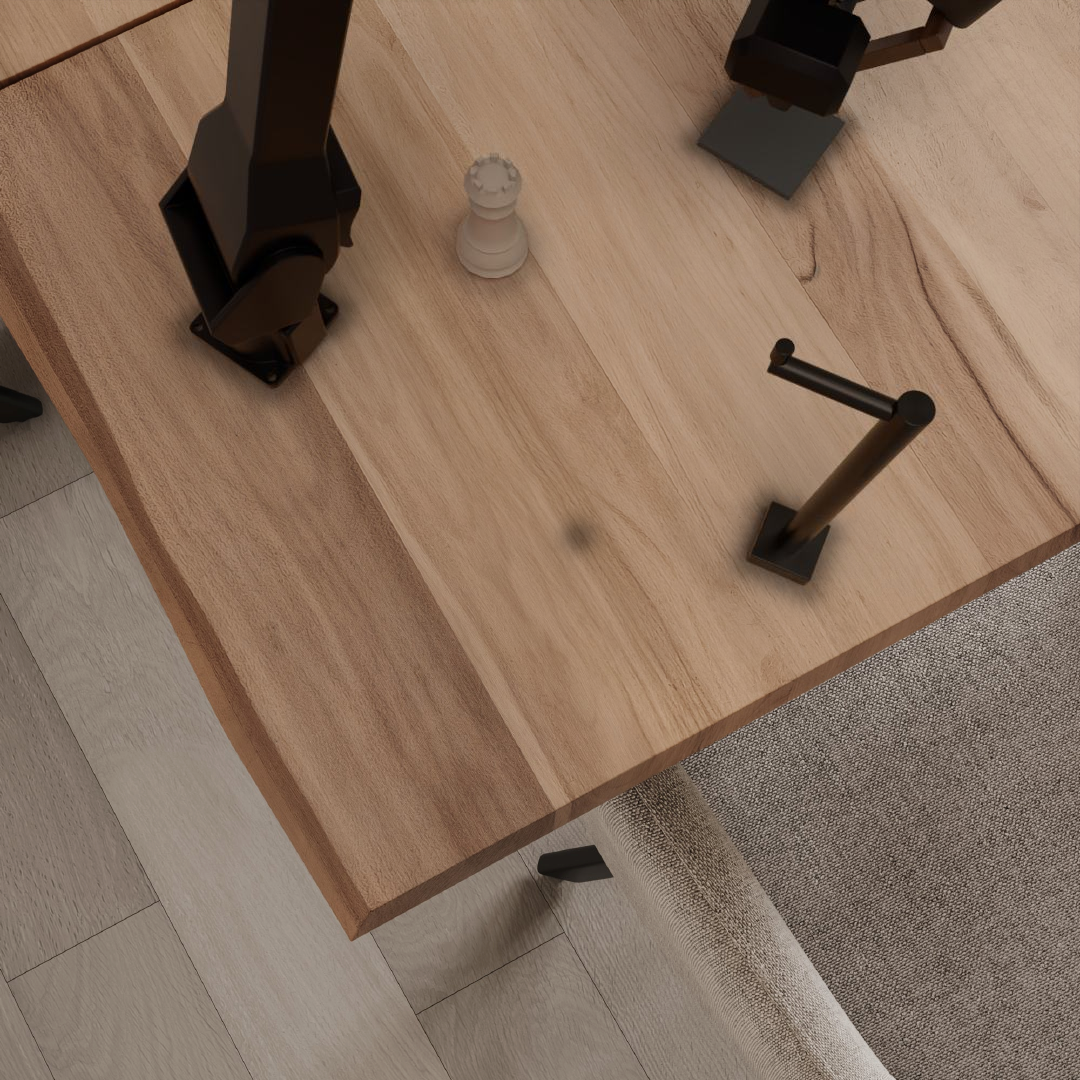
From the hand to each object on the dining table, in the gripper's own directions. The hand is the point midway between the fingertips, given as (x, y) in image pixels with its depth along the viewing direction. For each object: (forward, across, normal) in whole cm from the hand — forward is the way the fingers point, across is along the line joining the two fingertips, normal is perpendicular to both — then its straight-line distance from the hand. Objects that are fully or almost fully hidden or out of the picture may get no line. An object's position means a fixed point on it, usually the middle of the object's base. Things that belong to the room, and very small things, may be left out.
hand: (798, 61), depth 64 cm
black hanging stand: (+7, -26, -8) cm, 28 cm away
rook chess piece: (+7, -15, +13) cm, 21 cm away
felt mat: (+7, 0, 0) cm, 7 cm away
